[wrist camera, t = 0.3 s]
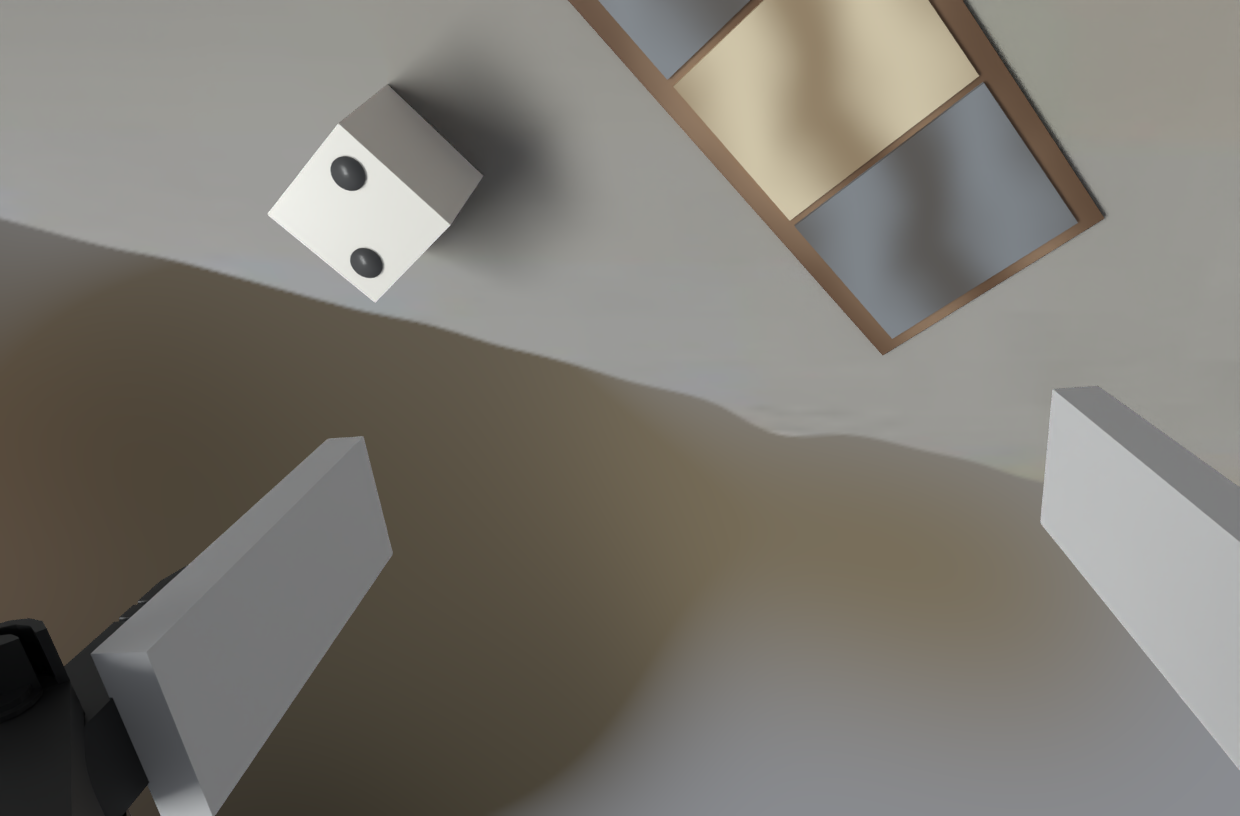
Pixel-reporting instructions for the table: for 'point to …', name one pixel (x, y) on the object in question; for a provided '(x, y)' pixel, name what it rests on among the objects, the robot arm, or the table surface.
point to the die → (377, 193)
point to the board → (862, 142)
